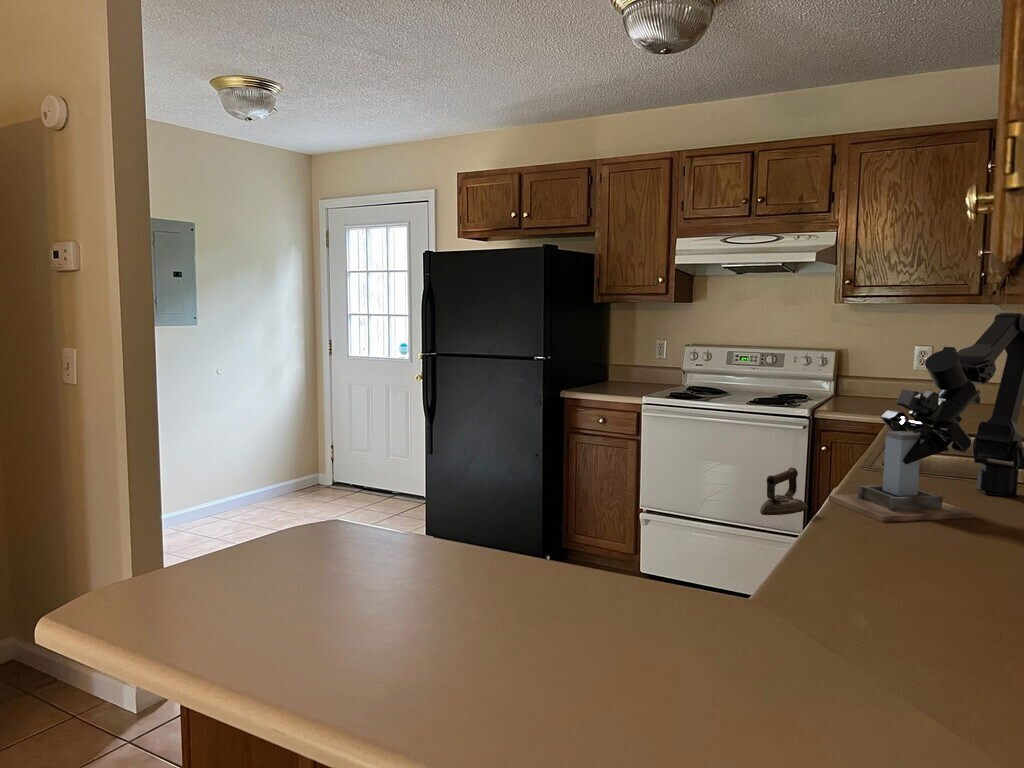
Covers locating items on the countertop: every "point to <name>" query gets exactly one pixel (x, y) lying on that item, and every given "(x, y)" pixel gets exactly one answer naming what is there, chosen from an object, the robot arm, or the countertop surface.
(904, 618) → the countertop surface
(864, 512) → the jig cradle
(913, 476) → the block
